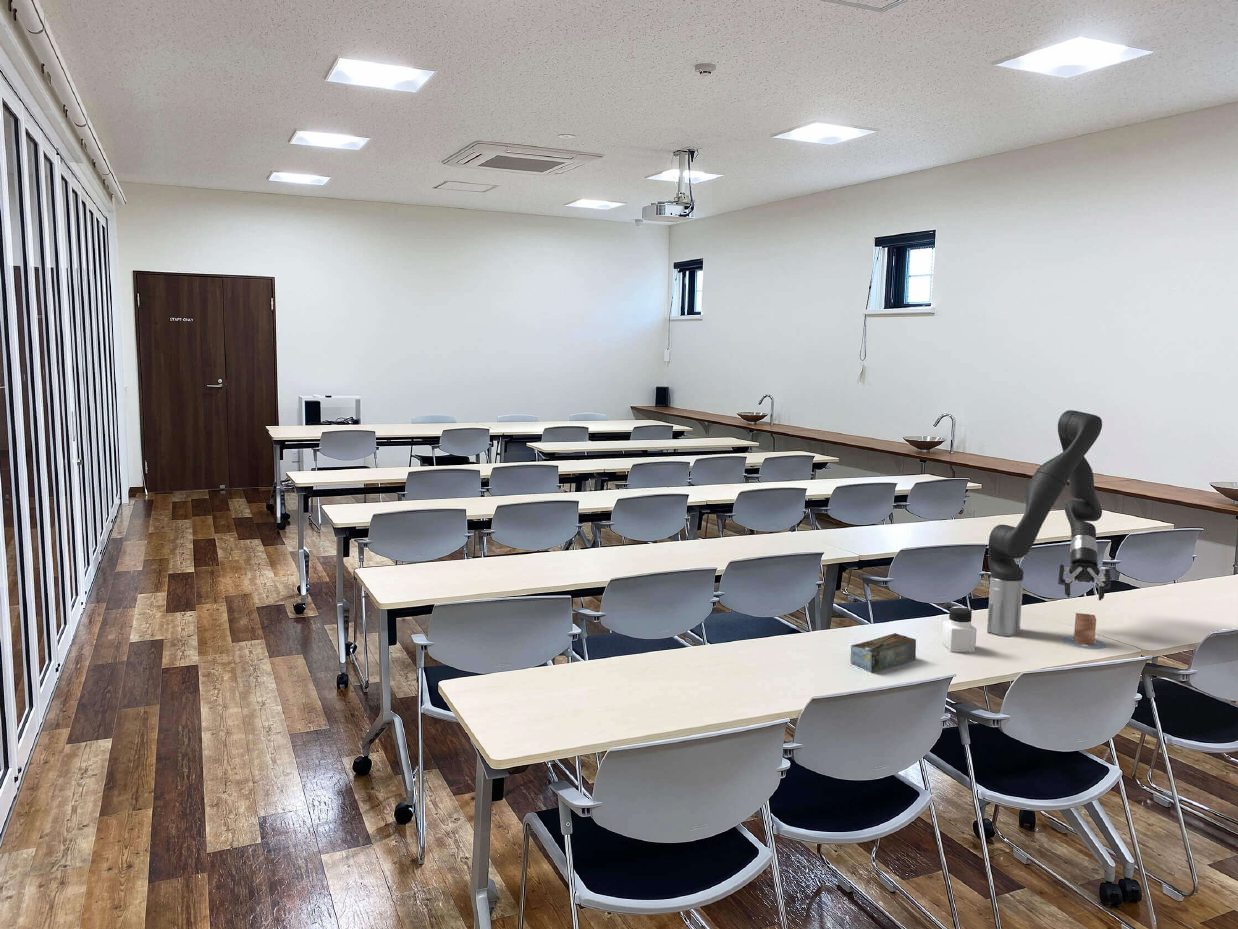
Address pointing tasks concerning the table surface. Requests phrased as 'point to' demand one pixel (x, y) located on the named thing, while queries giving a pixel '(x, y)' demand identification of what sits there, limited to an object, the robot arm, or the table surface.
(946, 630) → the medicine bottle
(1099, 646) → the letter mat
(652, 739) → the table surface
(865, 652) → the grey boxy piece
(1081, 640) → the terracotta block
